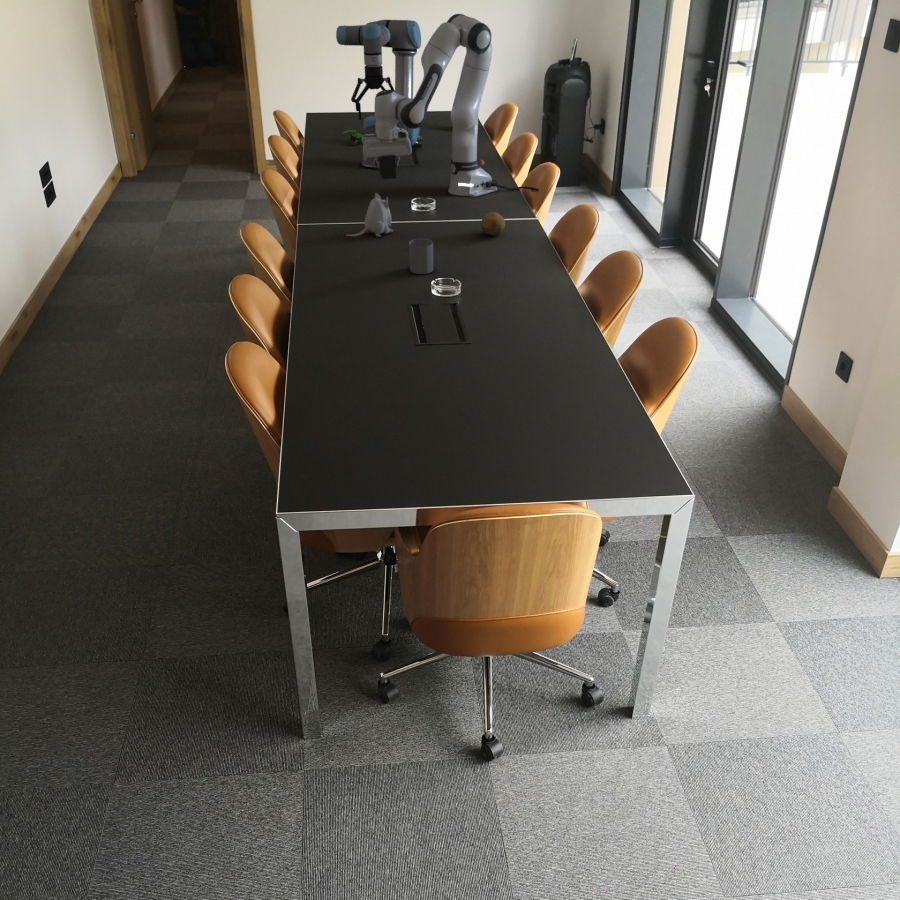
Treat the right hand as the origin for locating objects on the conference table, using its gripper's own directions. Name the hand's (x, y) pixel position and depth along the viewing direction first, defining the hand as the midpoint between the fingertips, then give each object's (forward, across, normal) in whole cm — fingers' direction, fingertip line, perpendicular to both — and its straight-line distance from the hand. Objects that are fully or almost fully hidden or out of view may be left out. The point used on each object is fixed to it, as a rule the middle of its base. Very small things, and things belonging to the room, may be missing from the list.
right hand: (387, 167), depth 363 cm
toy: (+16, -14, -38) cm, 44 cm away
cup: (+17, 0, -77) cm, 79 cm away
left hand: (-15, -1, +24) cm, 28 cm away
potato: (+17, +34, -45) cm, 59 cm away
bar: (+4, 0, +8) cm, 9 cm away
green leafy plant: (+16, +6, +114) cm, 115 cm away
